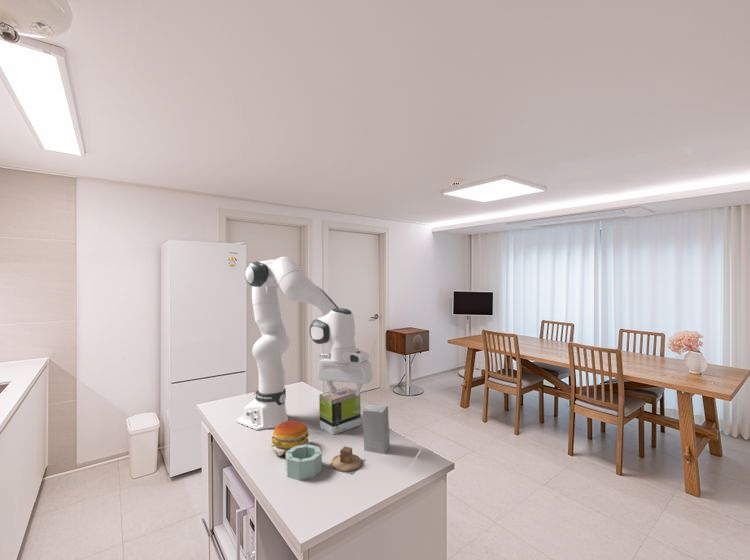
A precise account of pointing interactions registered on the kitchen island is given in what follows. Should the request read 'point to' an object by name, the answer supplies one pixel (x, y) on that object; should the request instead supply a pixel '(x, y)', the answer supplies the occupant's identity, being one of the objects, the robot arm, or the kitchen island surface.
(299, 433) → the burger
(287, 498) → the kitchen island surface
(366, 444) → the skincare box
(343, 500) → the kitchen island surface
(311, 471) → the bowl
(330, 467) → the mat
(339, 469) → the lid
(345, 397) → the tea box
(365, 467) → the kitchen island surface
